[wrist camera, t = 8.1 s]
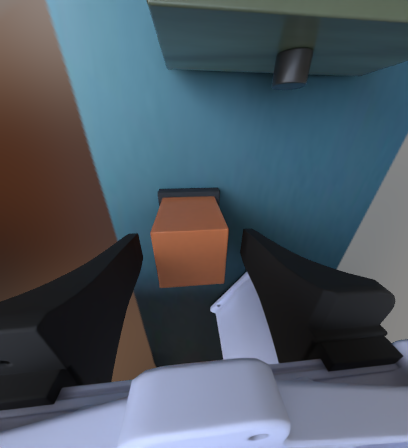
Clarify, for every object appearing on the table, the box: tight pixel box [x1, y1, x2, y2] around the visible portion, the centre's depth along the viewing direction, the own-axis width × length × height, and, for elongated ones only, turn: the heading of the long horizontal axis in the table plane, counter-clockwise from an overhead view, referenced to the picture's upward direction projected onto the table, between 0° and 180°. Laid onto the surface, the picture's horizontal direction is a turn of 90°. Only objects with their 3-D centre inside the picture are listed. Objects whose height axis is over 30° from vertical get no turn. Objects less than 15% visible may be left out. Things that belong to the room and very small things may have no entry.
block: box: [151, 196, 229, 288], centre depth 12 cm, size 4×4×5 cm
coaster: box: [158, 188, 220, 207], centre depth 15 cm, size 5×5×1 cm
